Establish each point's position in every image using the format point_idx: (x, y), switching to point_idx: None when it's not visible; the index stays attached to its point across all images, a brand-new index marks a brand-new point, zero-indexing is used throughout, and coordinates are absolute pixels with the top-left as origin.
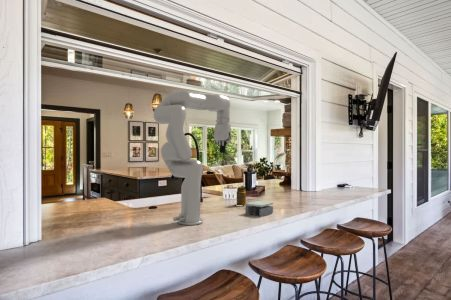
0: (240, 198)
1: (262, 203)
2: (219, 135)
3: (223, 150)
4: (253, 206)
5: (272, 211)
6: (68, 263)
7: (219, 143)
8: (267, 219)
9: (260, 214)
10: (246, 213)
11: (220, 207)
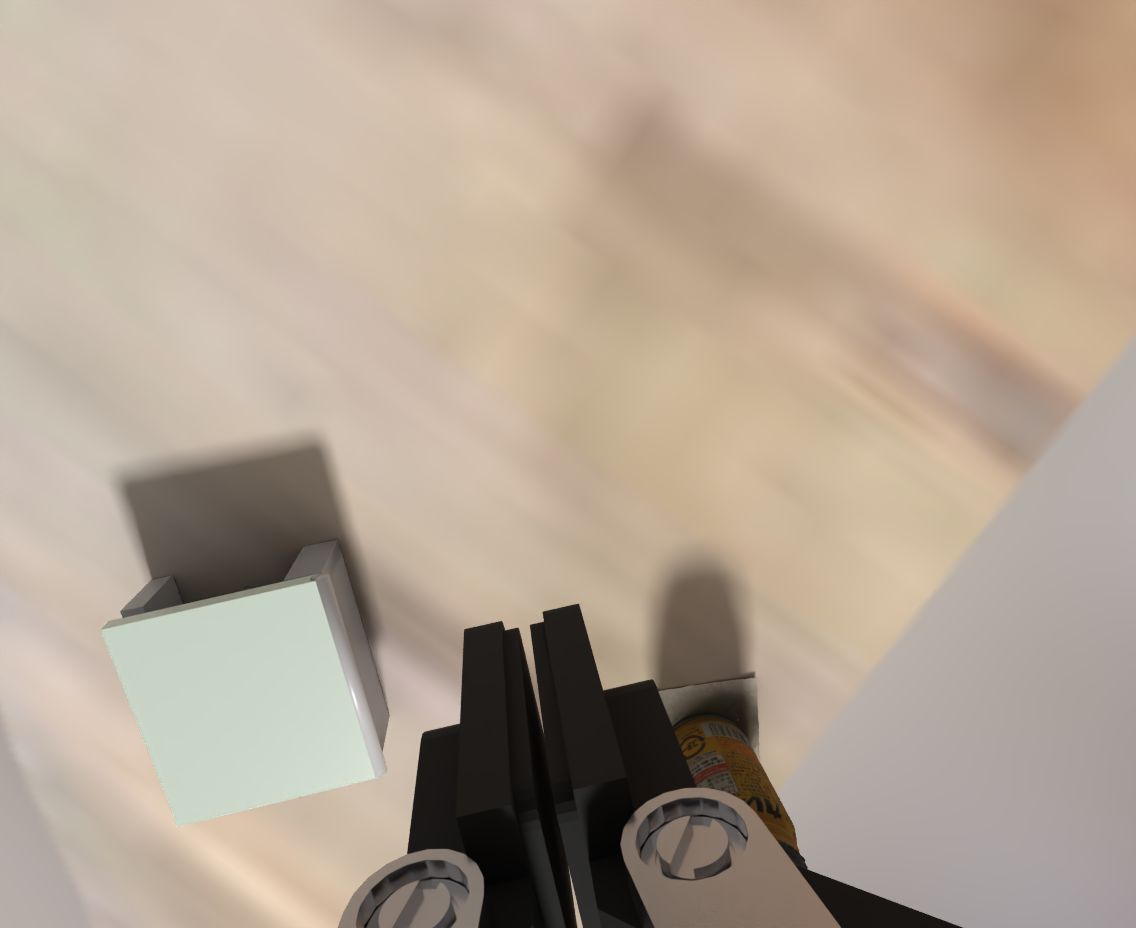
0: (694, 772)
1: (198, 711)
2: None
3: (437, 735)
4: None
5: None
6: None
7: (748, 907)
8: (23, 552)
9: (153, 586)
10: (327, 543)
11: (742, 523)
